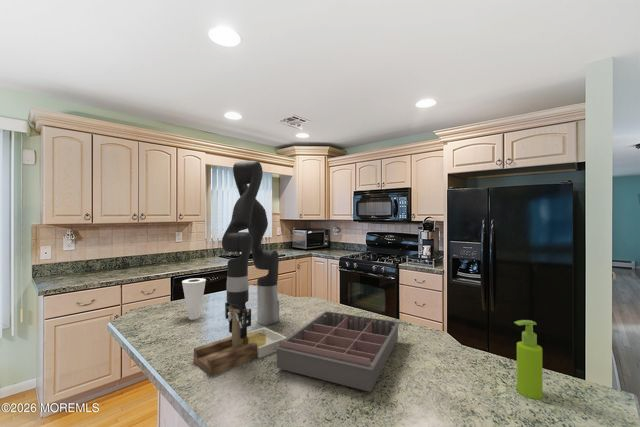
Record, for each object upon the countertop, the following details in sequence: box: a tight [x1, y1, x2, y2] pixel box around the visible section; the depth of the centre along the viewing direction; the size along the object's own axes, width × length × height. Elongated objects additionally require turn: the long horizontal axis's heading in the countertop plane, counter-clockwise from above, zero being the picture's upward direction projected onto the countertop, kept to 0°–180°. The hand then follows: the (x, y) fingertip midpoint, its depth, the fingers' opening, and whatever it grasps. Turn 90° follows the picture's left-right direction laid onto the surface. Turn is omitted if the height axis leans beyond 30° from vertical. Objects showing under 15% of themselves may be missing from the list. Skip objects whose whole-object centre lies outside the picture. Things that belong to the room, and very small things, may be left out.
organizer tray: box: [274, 310, 401, 393], centre depth 107 cm, size 32×40×10 cm
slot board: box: [192, 335, 258, 377], centre depth 104 cm, size 17×13×4 cm
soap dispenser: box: [513, 319, 543, 400], centre depth 84 cm, size 6×7×20 cm
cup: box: [181, 277, 207, 321], centre depth 145 cm, size 11×11×18 cm
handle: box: [229, 306, 243, 349], centre depth 107 cm, size 5×6×15 cm
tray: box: [247, 326, 288, 359], centre depth 114 cm, size 12×15×4 cm
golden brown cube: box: [255, 332, 266, 349], centre depth 113 cm, size 4×4×4 cm
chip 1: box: [242, 331, 257, 346], centre depth 110 cm, size 4×4×4 cm
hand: (237, 334), depth 107 cm, fingers open, 7 cm apart
